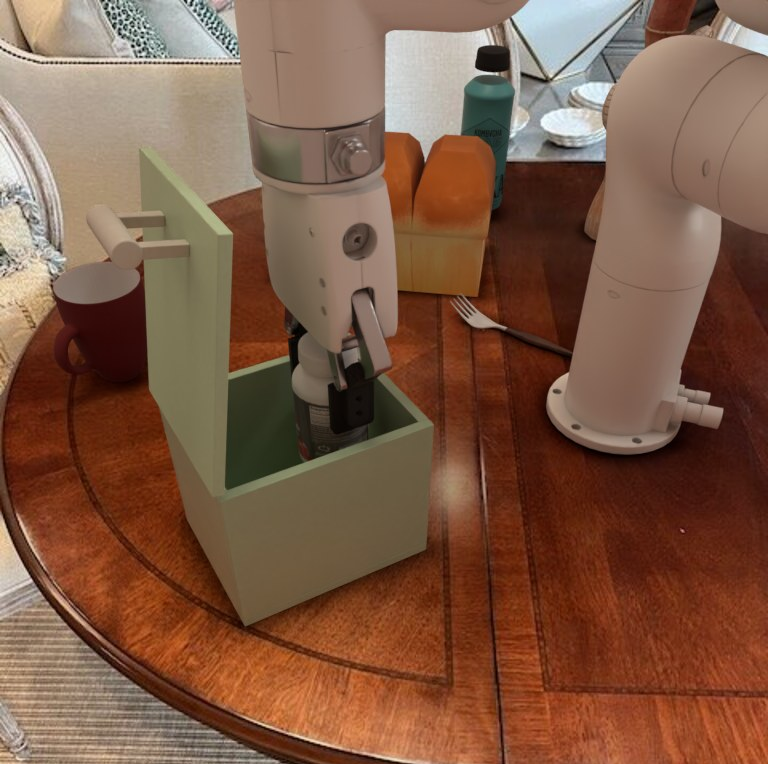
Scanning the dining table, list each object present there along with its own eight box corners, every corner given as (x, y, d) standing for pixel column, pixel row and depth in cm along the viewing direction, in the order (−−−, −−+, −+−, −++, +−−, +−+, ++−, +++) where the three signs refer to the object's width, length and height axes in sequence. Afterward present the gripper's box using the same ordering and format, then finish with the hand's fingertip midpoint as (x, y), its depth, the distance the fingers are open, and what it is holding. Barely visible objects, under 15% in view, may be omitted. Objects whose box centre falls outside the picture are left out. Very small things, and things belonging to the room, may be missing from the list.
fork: (574, 368, 81) (578, 351, 79) (447, 317, 88) (448, 301, 86) (586, 357, 82) (590, 340, 81) (460, 307, 89) (461, 292, 88)
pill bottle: (298, 432, 61) (287, 323, 54) (366, 428, 62) (364, 319, 55) (299, 478, 57) (288, 367, 51) (372, 474, 58) (371, 363, 51)
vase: (577, 241, 101) (631, -40, 79) (580, 216, 106) (631, -54, 84) (662, 250, 99) (740, -35, 78) (660, 224, 104) (733, -49, 83)
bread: (488, 248, 99) (501, 125, 89) (481, 298, 90) (494, 168, 80) (296, 233, 102) (286, 111, 91) (270, 280, 93) (257, 152, 83)
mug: (114, 417, 74) (86, 326, 67) (47, 397, 77) (13, 306, 70) (177, 360, 81) (158, 271, 74) (114, 342, 84) (89, 254, 76)
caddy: (352, 459, 70) (348, 336, 61) (426, 549, 63) (434, 424, 54) (186, 519, 65) (155, 394, 56) (244, 627, 57) (219, 502, 48)
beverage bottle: (446, 206, 108) (456, 42, 94) (490, 200, 109) (507, 37, 95) (463, 226, 103) (477, 57, 89) (509, 220, 105) (530, 52, 91)
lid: (152, 146, 45) (63, 146, 43) (233, 233, 38) (131, 238, 35) (159, 388, 56) (88, 398, 53) (224, 495, 48) (145, 513, 46)
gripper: (459, 182, 39) (440, 454, 52) (311, 86, 50) (325, 332, 63) (326, 214, 37) (340, 492, 50) (199, 105, 47) (238, 358, 60)
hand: (332, 400), depth 56 cm, fingers closed on pill bottle, 5 cm apart
